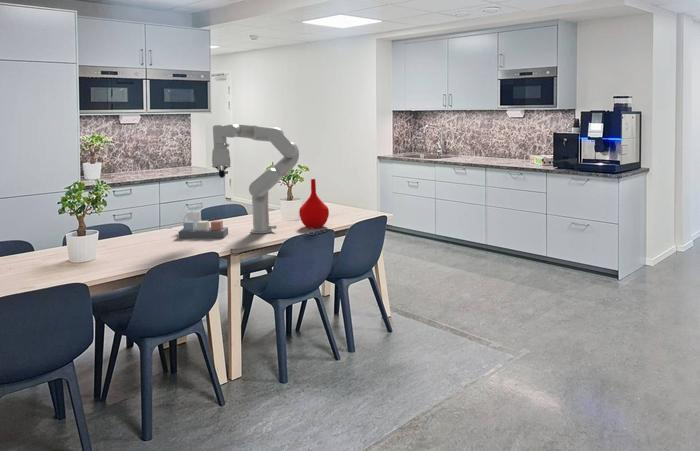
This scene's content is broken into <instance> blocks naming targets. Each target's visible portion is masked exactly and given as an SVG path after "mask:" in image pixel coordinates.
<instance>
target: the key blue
mask: <svg viewBox="0 0 700 451" xmlns="http://www.w3.org/2000/svg"><path fill="white" fill-rule="evenodd" d="M182 225H183V226H182V228H184V231H194V230H195V229H196V222H195V221H188V220H185V222H183V224H182Z"/></svg>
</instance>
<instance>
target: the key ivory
mask: <svg viewBox="0 0 700 451" xmlns="http://www.w3.org/2000/svg"><path fill="white" fill-rule="evenodd" d="M209 227H210V221H209V220H201V221H198V222H197V230H198V231H202V230H209Z"/></svg>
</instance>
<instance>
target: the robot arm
mask: <svg viewBox="0 0 700 451" xmlns="http://www.w3.org/2000/svg"><path fill="white" fill-rule="evenodd" d="M212 136H213V137H212V138H213V149H212V153H211V155H212V156H211V164H212V165H211V166H212V169H213V168H214V169H216V170H217V171H218V176H219V178H225V176H226V173H225V171H226V170H227V169H228V168H231V167H232V166H231V155H230V150H229V147H230V143H228V142H227V138H245V139H251V140H254V141H257V142H258V141H259V142H270V143H271V144H272V146H274V148H275V149H276V150H277V151H278V152H279V153H280V154H281V156H283V157H282V158H281V159H280V160H279V161H278V162H276V164H273V166H271V167H270V168H268V169H266V170H265V171H264V172H263V173H262V174H260V175H259V176H258V177H257V178H256V179H255V180H253V181H252V182H251V183H250V184H249V187H248V192H249V194H250V195H251V201H252V202H251V203H252V206H251V208H252V210H251V211H252V226H253V227H252V229H251V230H250V233H252V234H268V233H272V232H273V229H274V230H275V229H276V230H277V225H273V224H272V225H271V222H270V216H269V215H270V214H269V213H270V212H269V211H270V210H269V191H270V190H271V189H272V188H273V187H274V186H275V185H277V184H278V183H279V182H280V181H281V179H283V177H285V176H286V175H287V174H288V173H290V172H291V171H292V170H293V169H294V168H295V167H296V165H297V163H298V161H299V157H300V151H299V147H298V145H297V144H296V143H295V142H293V141H292V142H291V141H290V140H289V139H288V138H287V137H286V136H285V133H284V131H283V130H282V128H279V127H276V126H275V127H274V126H273V127H272V126H263V125H249V124H248V125H247V124H238V123H237V124H235V123H232V124H227V125H225V124H215V125H213V126H212Z"/></svg>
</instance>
